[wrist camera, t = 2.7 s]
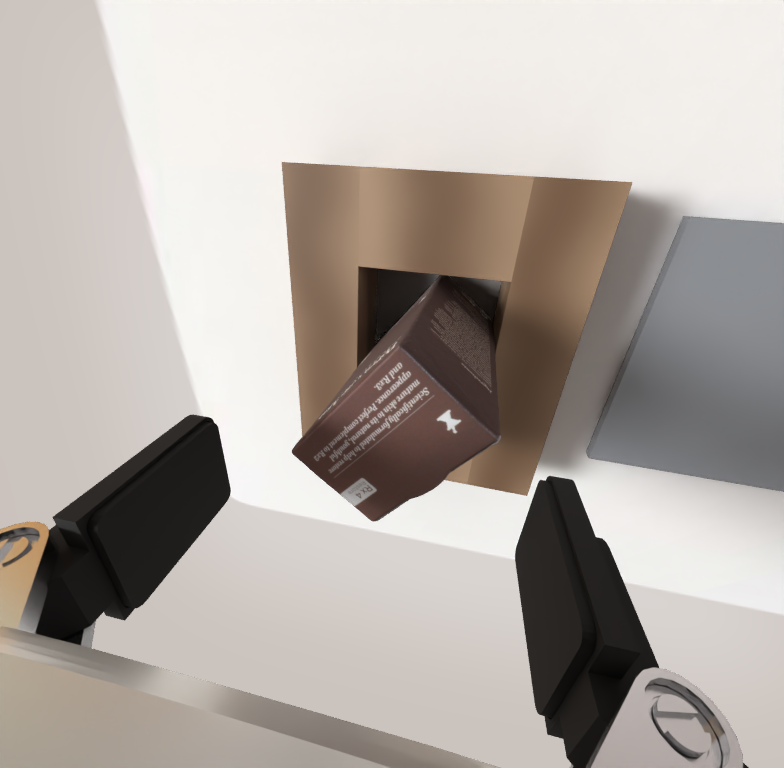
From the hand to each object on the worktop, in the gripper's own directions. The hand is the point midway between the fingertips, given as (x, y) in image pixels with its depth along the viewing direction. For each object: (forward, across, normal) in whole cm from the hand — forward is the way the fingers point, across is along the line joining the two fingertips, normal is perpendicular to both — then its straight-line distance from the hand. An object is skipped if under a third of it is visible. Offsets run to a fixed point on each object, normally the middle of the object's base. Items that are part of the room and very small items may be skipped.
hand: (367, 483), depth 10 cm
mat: (+13, -18, 0) cm, 22 cm away
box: (+13, -1, 0) cm, 13 cm away
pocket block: (+13, -1, 0) cm, 13 cm away
